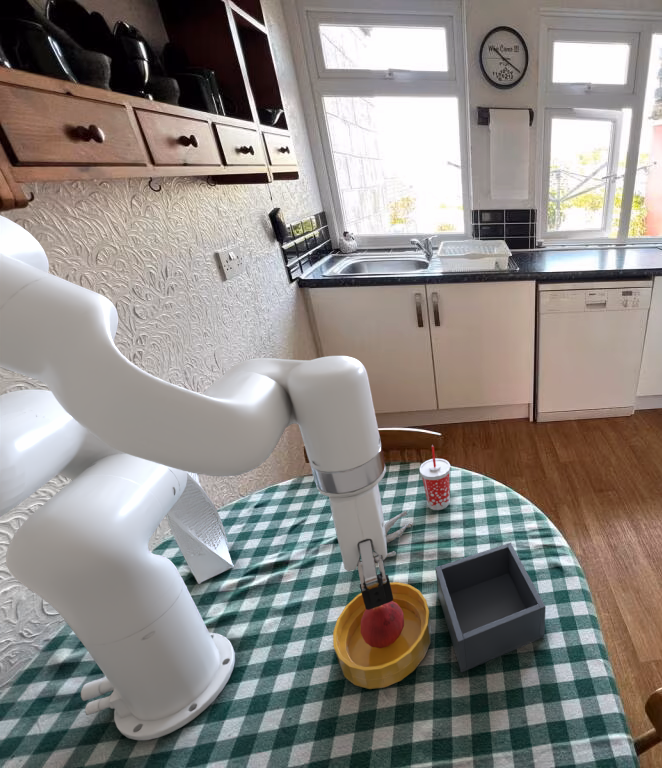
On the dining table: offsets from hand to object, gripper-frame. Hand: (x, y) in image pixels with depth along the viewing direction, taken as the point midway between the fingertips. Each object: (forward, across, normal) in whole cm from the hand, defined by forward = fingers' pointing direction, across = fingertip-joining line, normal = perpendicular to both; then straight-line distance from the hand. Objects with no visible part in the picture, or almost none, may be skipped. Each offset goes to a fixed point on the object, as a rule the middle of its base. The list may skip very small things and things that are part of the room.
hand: (375, 572), depth 54 cm
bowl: (+14, 0, -1) cm, 14 cm away
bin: (+14, +2, +14) cm, 20 cm away
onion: (+14, 0, -1) cm, 14 cm away
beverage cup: (+14, -26, +13) cm, 33 cm away
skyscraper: (+14, -26, -27) cm, 40 cm away
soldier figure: (+14, -19, +1) cm, 24 cm away
